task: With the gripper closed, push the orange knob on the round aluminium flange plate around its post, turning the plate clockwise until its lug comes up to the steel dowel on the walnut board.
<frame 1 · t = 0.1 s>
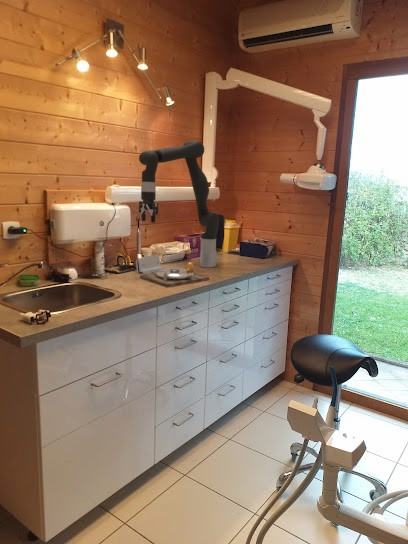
hand: (148, 221, 224), 29 cm above the countertop, tool pointing down, fingers open, 8 cm apart
base board: (174, 278, 225), on the countertop
hinge: (149, 271, 241), on the countertop
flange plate: (176, 269, 223), point 6 cm above the countertop, hinge at 0.0°
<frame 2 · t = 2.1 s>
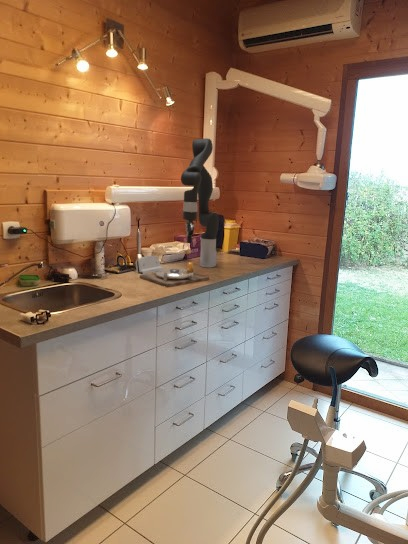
hand: (189, 243, 227), 19 cm above the countertop, tool pointing down, fingers closed
nothing on the countertop moved.
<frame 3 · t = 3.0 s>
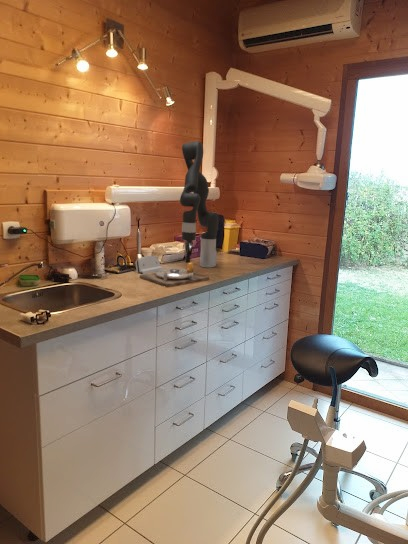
hand: (187, 262, 230), 8 cm above the countertop, tool pointing down, fingers closed
nothing on the countertop moved.
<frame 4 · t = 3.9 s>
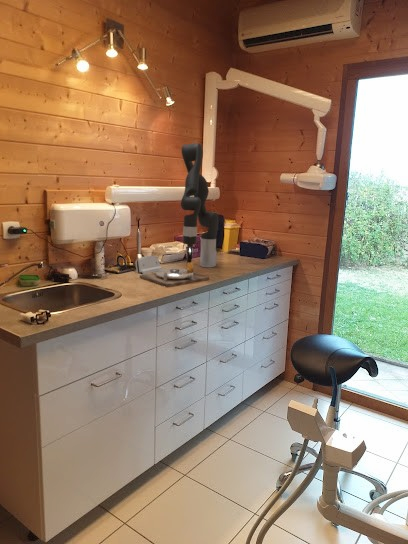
hand: (188, 266, 229), 6 cm above the countertop, tool pointing down, fingers closed
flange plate: (176, 269, 223), point 6 cm above the countertop, hinge at 0.1°, touching gripper
everything else where it was.
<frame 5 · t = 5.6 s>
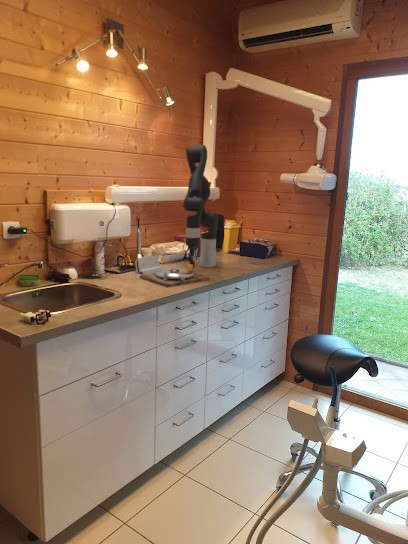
hand: (192, 268, 225), 6 cm above the countertop, tool pointing down, fingers closed
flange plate: (175, 269, 222), point 6 cm above the countertop, hinge at 29.3°, touching gripper
everything else where it was.
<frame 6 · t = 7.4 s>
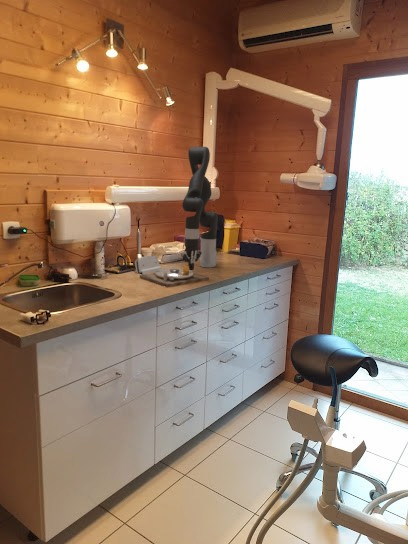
hand: (191, 270, 221), 6 cm above the countertop, tool pointing down, fingers closed
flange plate: (174, 269, 222), point 6 cm above the countertop, hinge at 55.3°
everything else where it was.
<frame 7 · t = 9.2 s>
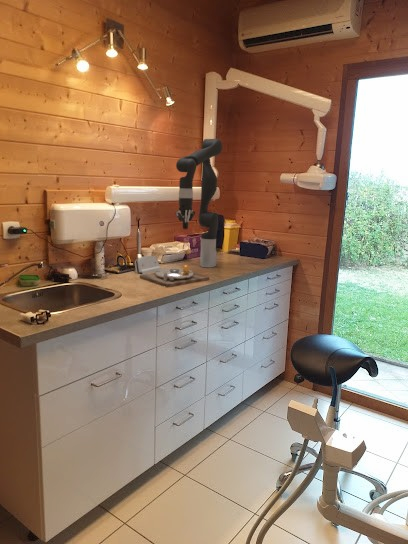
hand: (185, 229, 231), 25 cm above the countertop, tool pointing down, fingers closed
nothing on the countertop moved.
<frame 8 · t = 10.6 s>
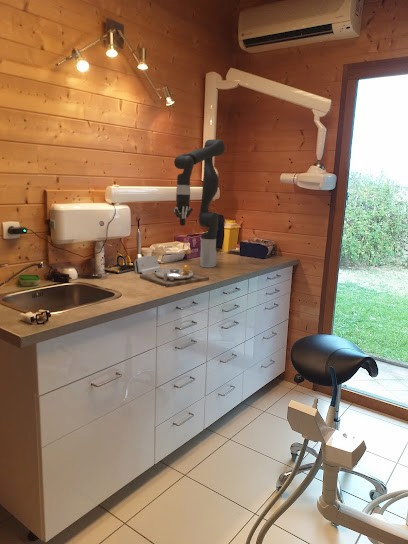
hand: (182, 225, 233), 27 cm above the countertop, tool pointing down, fingers closed
at the end: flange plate at +55° (first picture: +0°); hinge moved 1.3 cm from its start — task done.
